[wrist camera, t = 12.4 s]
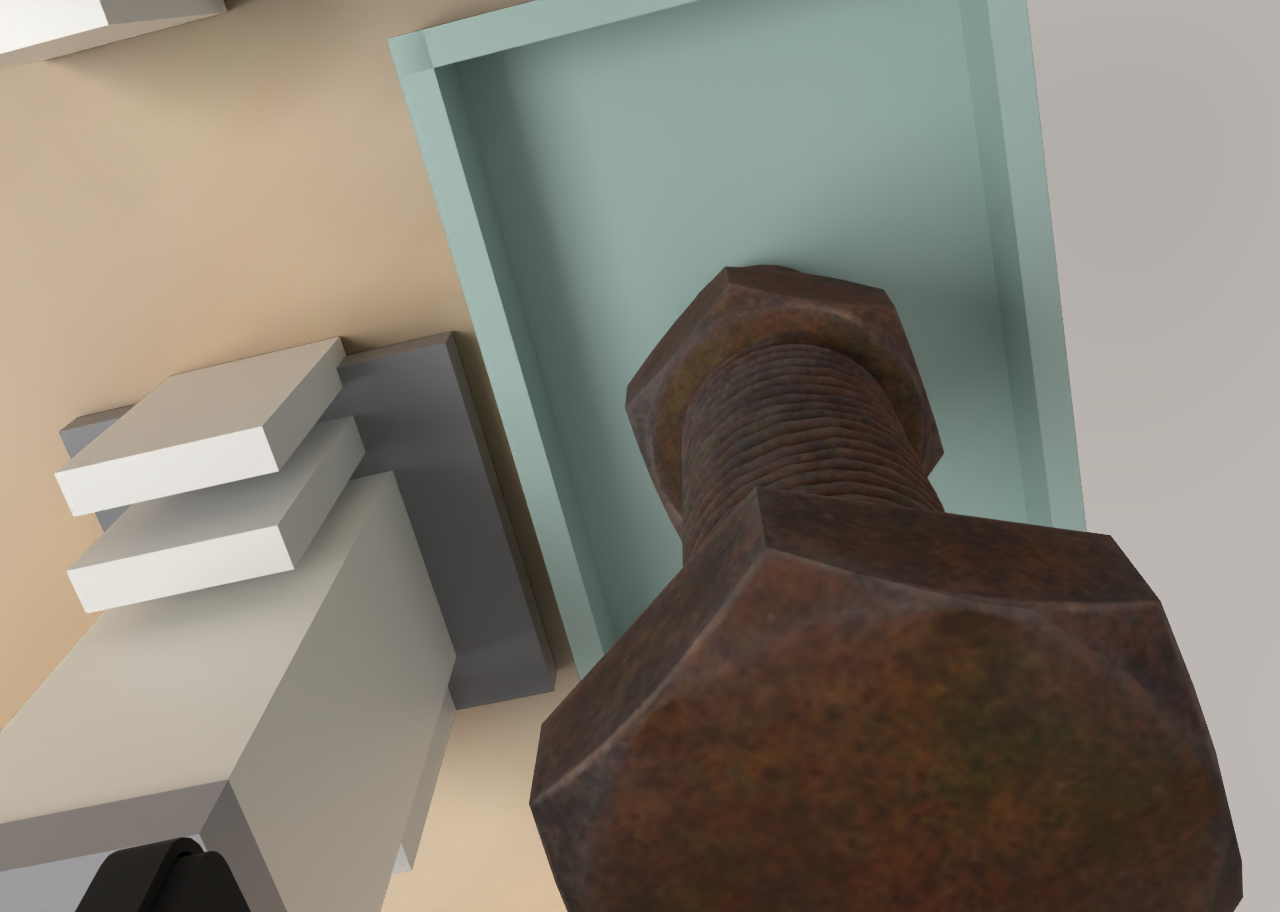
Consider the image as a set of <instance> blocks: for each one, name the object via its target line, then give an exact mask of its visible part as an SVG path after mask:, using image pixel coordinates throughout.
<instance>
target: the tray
mask: <svg viewBox="0 0 1280 912" xmlns="http://www.w3.org/2000/svg"><path fill="white" fill-rule="evenodd" d="M387 42H388V45H389V48H390V52H391V55H392V58H393V61H394V65H395V68H396V71H397V75H398V78H399V81H400V85H401V88H402V91H403V95H404V98H405V101H406V105H407V108H408V111H409V114H410V118H411V121H412V124H413V128H414V131H415V134H416V138H417V141H418V144H419V148H420V151H421V154H422V158H423V161H424V164H425V167H426V171H427V174H428V177H429V181H430V184H431V187H432V191H433V194H434V197H435V201H436V204H437V207H438V211H439V214H440V217H441V220H442V224H443V227H444V230H445V234H446V237H447V240H448V244H449V247H450V250H451V254H452V257H453V260H454V264H455V267H456V270H457V273H458V277H459V280H460V283H461V287H462V290H463V293H464V297H465V300H466V303H467V307H468V310H469V313H470V317H471V320H472V323H473V326H474V330H475V333H476V336H477V340H478V343H479V346H480V350H481V353H482V356H483V360H484V363H485V366H486V370H487V373H488V376H489V380H490V383H491V386H492V389H493V393H494V396H495V399H496V403H497V406H498V409H499V413H500V416H501V419H502V423H503V426H504V429H505V433H506V436H507V439H508V442H509V446H510V449H511V452H512V456H513V459H514V462H515V466H516V469H517V472H518V476H519V479H520V482H521V486H522V489H523V492H524V495H525V499H526V502H527V505H528V509H529V512H530V515H531V519H532V522H533V525H534V529H535V532H536V535H537V539H538V542H539V545H540V548H541V552H542V555H543V558H544V562H545V565H546V568H547V572H548V575H549V578H550V582H551V585H552V588H553V592H554V595H555V598H556V601H557V605H558V608H559V611H560V615H561V618H562V621H563V625H564V628H565V631H566V635H567V638H568V641H569V645H570V648H571V651H572V654H573V658H574V661H575V664H576V668H577V671H578V674H579V678H580V681H581V680H582V679H583V678H584V677H585V676H586V675H587V674H588V672H589V671H590V670H591V669H592V668H593V667H594V666H595V665H596V664H597V662H598V661H599V660H600V659H601V658H602V657H603V656H604V655H605V653H606V652H607V651H608V650H609V649H610V648H611V647H612V646H613V645H614V643H615V642H616V641H617V640H618V639H619V638H620V637H621V636H622V635H623V633H624V632H625V631H626V630H627V629H628V628H629V627H630V626H631V625H632V623H633V622H634V621H635V620H636V619H637V618H638V617H639V616H640V615H641V613H642V612H643V611H644V610H645V609H646V608H647V607H648V606H649V605H650V603H651V602H652V601H653V600H654V599H655V598H656V597H657V596H658V595H659V593H660V592H661V591H662V590H663V589H664V588H665V587H666V586H667V585H668V583H669V582H670V581H671V580H672V579H673V578H674V577H675V576H676V575H677V573H678V572H679V571H680V570H681V569H682V568H683V557H682V552H683V551H682V541H681V539H680V537H679V535H678V534H677V532H676V530H675V528H674V526H673V524H672V523H671V521H670V519H669V517H668V515H667V513H666V510H665V508H664V506H663V504H662V502H661V500H660V498H659V495H658V493H657V491H656V489H655V487H654V484H653V482H652V479H651V477H650V474H649V472H648V470H647V467H646V465H645V462H644V460H643V457H642V455H641V452H640V450H639V447H638V444H637V441H636V439H635V436H634V433H633V430H632V427H631V424H630V421H629V419H628V416H627V413H626V410H625V402H626V392H627V385H628V384H629V383H630V381H631V380H632V378H633V377H634V376H635V374H636V373H637V371H638V370H639V368H640V367H641V366H642V364H643V363H644V361H645V360H646V359H647V357H648V356H649V354H650V353H651V352H652V350H653V349H654V348H655V346H656V345H657V344H658V343H659V341H660V340H661V339H662V338H663V336H664V335H665V334H666V332H667V331H668V330H669V329H670V327H671V326H672V325H673V324H674V322H675V321H676V320H677V319H678V318H679V316H680V315H681V314H682V313H683V312H684V311H685V309H686V308H687V307H688V306H689V305H690V304H691V302H692V301H693V300H694V299H695V298H696V296H697V295H698V293H699V292H700V291H701V290H702V289H703V288H704V287H705V286H706V285H707V284H708V283H709V282H711V281H712V280H713V279H714V278H715V277H716V275H717V274H718V273H719V272H720V271H721V270H722V269H723V268H724V267H725V266H728V267H747V266H754V265H762V264H764V265H779V266H784V267H788V268H792V269H795V270H797V271H799V272H802V273H807V274H813V275H819V276H825V277H831V278H836V279H842V280H846V281H850V282H855V283H859V284H863V285H867V286H872V287H876V288H880V289H884V291H885V292H886V294H887V295H888V297H889V298H890V300H891V301H892V303H893V304H894V306H895V308H896V310H897V313H898V316H899V318H900V321H901V323H902V326H903V329H904V331H905V334H906V337H907V339H908V342H909V344H910V347H911V350H912V353H913V356H914V359H915V362H916V365H917V367H918V370H919V373H920V376H921V379H922V382H923V385H924V388H925V391H926V394H927V397H928V400H929V403H930V406H931V409H932V412H933V416H934V419H935V422H936V425H937V428H938V432H939V436H940V439H941V443H942V446H943V450H944V454H943V456H942V457H941V459H940V460H939V462H938V463H937V465H936V466H935V467H934V469H933V470H932V472H931V473H930V475H929V476H928V480H929V481H930V483H931V485H932V486H933V488H934V490H935V491H936V493H937V496H938V498H939V500H940V501H941V503H942V505H943V507H944V510H945V512H946V513H953V514H960V515H967V516H975V517H982V518H989V519H996V520H1003V521H1011V522H1018V523H1025V524H1032V525H1039V526H1047V527H1054V528H1061V529H1068V530H1075V531H1083V532H1086V522H1085V513H1084V505H1083V496H1082V487H1081V478H1080V470H1079V460H1078V451H1077V444H1076V443H1077V442H1076V433H1075V425H1074V416H1073V407H1072V398H1071V389H1070V381H1069V372H1068V363H1067V354H1066V345H1065V336H1064V327H1063V318H1062V310H1061V301H1060V292H1059V283H1058V275H1057V265H1056V257H1055V248H1054V239H1053V230H1052V222H1051V214H1050V204H1049V195H1048V186H1047V177H1046V168H1045V159H1044V150H1043V142H1042V133H1041V124H1040V115H1039V106H1038V97H1037V88H1036V80H1035V71H1034V62H1033V53H1032V45H1031V36H1030V27H1029V18H1028V9H1027V0H534V1H530V2H527V3H523V4H519V5H515V6H511V7H507V8H503V9H500V10H496V11H492V12H488V13H484V14H480V15H476V16H473V17H469V18H465V19H461V20H457V21H453V22H449V23H446V24H442V25H438V26H434V27H430V28H426V29H422V30H419V31H415V32H411V33H407V34H404V35H400V36H396V37H392V38H389V39H387Z"/></svg>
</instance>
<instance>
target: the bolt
mask: <svg viewBox="0 0 1280 912" xmlns="http://www.w3.org/2000/svg"><path fill="white" fill-rule="evenodd" d="M625 410H626V413H627V416H628V419H629V421H630V424H631V427H632V430H633V433H634V436H635V439H636V441H637V444H638V447H639V450H640V452H641V455H642V457H643V460H644V462H645V465H646V467H647V470H648V472H649V474H650V477H651V479H652V482H653V484H654V487H655V489H656V491H657V493H658V495H659V498H660V500H661V502H662V504H663V506H664V508H665V510H666V513H667V515H668V517H669V519H670V521H671V523H672V524H673V526H674V528H675V530H676V532H677V534H678V535H679V537H680V539H681V541H682V551H683V552H682V557H683V568H682V569H681V570H680V571H679V572H678V573H677V575H676V576H675V577H674V578H673V579H672V580H671V581H670V582H669V583H668V585H667V586H666V587H665V588H664V589H663V590H662V591H661V592H660V593H659V595H658V596H657V597H656V598H655V599H654V600H653V601H652V602H651V603H650V605H649V606H648V607H647V608H646V609H645V610H644V611H643V612H642V613H641V615H640V616H639V617H638V618H637V619H636V620H635V621H634V622H633V623H632V625H631V626H630V627H629V628H628V629H627V630H626V631H625V632H624V633H623V635H622V636H621V637H620V638H619V639H618V640H617V641H616V642H615V643H614V645H613V646H612V647H611V648H610V649H609V650H608V651H607V652H606V653H605V655H604V656H603V657H602V658H601V659H600V660H599V661H598V662H597V664H596V665H595V666H594V667H593V668H592V669H591V670H590V671H589V672H588V674H587V675H586V676H585V677H584V678H583V679H582V680H581V681H580V682H579V684H578V685H577V686H576V687H575V688H574V689H573V690H572V691H571V692H570V694H569V695H568V696H567V697H566V698H565V699H564V700H563V701H562V702H561V704H560V705H559V706H558V707H557V708H556V709H555V710H554V711H553V712H552V714H551V715H550V716H549V717H548V718H547V719H546V720H545V721H544V722H543V724H542V726H541V733H540V739H539V745H538V751H537V757H536V764H535V770H534V776H533V782H532V789H531V795H530V801H529V805H530V808H531V811H532V814H533V817H534V820H535V823H536V826H537V829H538V832H539V835H540V838H541V841H542V844H543V847H544V850H545V853H546V855H547V858H548V861H549V864H550V867H551V870H552V873H553V876H554V879H555V882H556V885H557V887H558V890H559V892H560V894H561V897H562V899H563V902H564V904H565V906H566V909H567V911H568V912H1234V910H1235V909H1236V907H1237V906H1238V904H1239V902H1240V901H1241V899H1242V898H1243V887H1242V860H1241V856H1240V852H1239V848H1238V843H1237V839H1236V835H1235V831H1234V827H1233V823H1232V819H1231V814H1230V810H1229V806H1228V802H1227V797H1226V794H1225V789H1224V785H1223V781H1222V777H1221V772H1220V768H1219V764H1218V760H1217V756H1216V751H1215V748H1214V745H1213V743H1212V739H1211V737H1210V734H1209V730H1208V727H1207V724H1206V721H1205V719H1204V715H1203V713H1202V710H1201V706H1200V704H1199V701H1198V698H1197V695H1196V692H1195V689H1194V686H1193V683H1192V681H1191V678H1190V675H1189V673H1188V670H1187V668H1186V665H1185V663H1184V660H1183V658H1182V655H1181V652H1180V650H1179V647H1178V645H1177V642H1176V640H1175V637H1174V635H1173V632H1172V630H1171V627H1170V624H1169V622H1168V619H1167V617H1166V614H1165V612H1164V609H1163V606H1162V604H1161V601H1160V600H1159V599H1158V597H1157V596H1156V595H1155V593H1154V592H1153V591H1152V589H1151V588H1150V587H1149V585H1148V584H1147V583H1146V581H1145V580H1144V579H1143V577H1142V576H1141V575H1140V574H1139V572H1138V571H1137V570H1136V568H1135V567H1134V566H1133V564H1132V563H1131V562H1130V561H1129V559H1128V558H1127V556H1126V555H1125V554H1124V552H1123V551H1122V550H1121V549H1120V547H1119V546H1118V545H1117V543H1116V542H1115V541H1114V539H1113V538H1112V537H1111V536H1110V535H1104V534H1097V533H1090V532H1083V531H1075V530H1068V529H1061V528H1054V527H1047V526H1039V525H1032V524H1025V523H1018V522H1011V521H1003V520H996V519H989V518H982V517H975V516H967V515H960V514H953V513H946V512H945V510H944V507H943V505H942V503H941V501H940V500H939V498H938V496H937V493H936V491H935V490H934V488H933V486H932V485H931V483H930V481H929V480H928V476H929V475H930V473H931V472H932V470H933V469H934V467H935V466H936V465H937V463H938V462H939V460H940V459H941V457H942V456H943V454H944V450H943V446H942V443H941V439H940V436H939V432H938V428H937V425H936V422H935V419H934V416H933V412H932V409H931V406H930V403H929V400H928V397H927V394H926V391H925V388H924V385H923V382H922V379H921V376H920V373H919V370H918V367H917V365H916V362H915V359H914V356H913V353H912V350H911V347H910V344H909V342H908V339H907V337H906V334H905V331H904V329H903V326H902V323H901V321H900V318H899V316H898V313H897V310H896V308H895V306H894V304H893V303H892V301H891V300H890V298H889V297H888V295H887V294H886V292H885V291H884V289H880V288H876V287H872V286H867V285H863V284H859V283H855V282H850V281H846V280H842V279H836V278H831V277H825V276H819V275H813V274H807V273H802V272H799V271H797V270H795V269H792V268H788V267H784V266H779V265H764V264H762V265H754V266H747V267H728V266H725V267H724V268H723V269H722V270H721V271H720V272H719V273H718V274H717V275H716V277H715V278H714V279H713V280H712V281H711V282H709V283H708V284H707V285H706V286H705V287H704V288H703V289H702V290H701V291H700V292H699V293H698V295H697V296H696V298H695V299H694V300H693V301H692V302H691V304H690V305H689V306H688V307H687V308H686V309H685V311H684V312H683V313H682V314H681V315H680V316H679V318H678V319H677V320H676V321H675V322H674V324H673V325H672V326H671V327H670V329H669V330H668V331H667V332H666V334H665V335H664V336H663V338H662V339H661V340H660V341H659V343H658V344H657V345H656V346H655V348H654V349H653V350H652V352H651V353H650V354H649V356H648V357H647V359H646V360H645V361H644V363H643V364H642V366H641V367H640V368H639V370H638V371H637V373H636V374H635V376H634V377H633V378H632V380H631V381H630V383H629V384H628V385H627V392H626V402H625Z"/></svg>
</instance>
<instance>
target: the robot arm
mask: <svg viewBox="0 0 1280 912" xmlns="http://www.w3.org/2000/svg"><path fill="white" fill-rule="evenodd" d="M75 912H251V911H250V909H249V906H248V904H247V902H246V900H245V898H244V896H243V894H242V892H241V890H240V888H239V886H238V884H237V882H236V880H235V878H234V876H233V874H232V871H231V869H230V867H229V865H228V863H227V862H226V860H225V859H224V857H223V856H222V855H221V854H219V853H218V852H217V851H207V852H204V850H203V849H202V847H201V846H200V844H199V843H197V842H196V841H195V840H193V839H192V838H187V837H180V838H175V839H170V840H165V841H161V842H156V843H151V844H146V845H141V846H136V847H131V848H127V849H122V850H117V851H116V852H114V853H112V854H110V855H108V857H107V858H106V859H105V860H104V862H103V863H102V864H101V866H100V867H99V869H98V871H97V873H96V875H95V876H94V878H93V880H92V882H91V884H90V885H89V887H88V889H87V891H86V893H85V894H84V896H83V898H82V900H81V901H80V903H79V905H78V907H77V909H76V910H75Z"/></svg>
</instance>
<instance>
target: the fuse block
mask: <svg viewBox="0 0 1280 912" xmlns="http://www.w3.org/2000/svg"><path fill="white" fill-rule="evenodd" d="M225 12H227V9H226V6H225V3H224V0H0V68H1V67H7V66H14V65H20V64H27V63H33V62H40V61H44V60H48V59H52V58H56V57H60V56H63V55H67V54H71V53H75V52H78V51H82V50H86V49H90V48H93V47H97V46H101V45H105V44H109V43H112V42H116V41H120V40H124V39H127V38H131V37H135V36H139V35H142V34H146V33H150V32H154V31H158V30H161V29H165V28H169V27H173V26H176V25H180V24H184V23H188V22H191V21H195V20H199V19H203V18H207V17H210V16H214V15H218V14H222V13H225ZM59 433H60V435H61V438H62V440H63V442H64V444H65V446H66V449H67V451H68V453H69V455H70V458H71V459H70V460H69V461H68V462H67V463H66V464H64V465H63V466H62V467H61V468H60V469H58V470H57V471H56V472H55V473H54V475H55V477H56V479H57V481H58V484H59V486H60V488H61V490H62V492H63V495H64V497H65V499H66V501H67V503H68V505H69V508H70V510H71V512H72V514H73V516H74V517H75V516H80V515H84V514H89V513H93V512H95V513H96V515H97V518H98V520H99V522H100V524H101V526H102V529H103V531H104V533H103V534H102V535H101V536H100V537H99V538H98V539H97V540H96V541H95V542H94V543H93V544H92V545H91V546H90V547H89V548H88V549H87V550H86V551H85V552H84V553H83V555H82V556H81V557H80V558H79V559H78V560H77V561H76V562H75V563H74V564H73V565H72V566H71V567H70V568H69V569H68V570H67V574H68V576H69V578H70V580H71V582H72V584H73V586H74V589H75V591H76V593H77V595H78V597H79V599H80V601H81V603H82V606H83V608H84V610H85V612H86V614H87V613H91V612H96V611H101V610H105V609H106V610H105V611H104V612H103V614H102V615H101V616H100V617H99V618H98V619H97V620H96V622H95V623H94V624H93V625H92V626H91V627H90V629H89V630H88V631H87V632H86V633H85V634H84V636H83V637H82V638H81V639H80V640H79V641H78V642H77V644H76V645H75V646H74V647H73V648H72V649H71V651H70V652H69V653H68V654H67V655H66V656H65V658H64V659H63V660H62V661H61V662H60V663H59V664H58V666H57V667H56V668H55V669H54V670H53V671H52V673H51V674H50V675H49V676H48V677H47V678H46V680H45V681H44V682H43V683H42V684H41V685H40V687H39V688H38V689H37V690H36V691H35V692H34V693H33V695H32V696H31V697H30V698H29V699H28V700H27V702H26V703H25V704H24V705H23V706H22V707H21V709H20V710H19V711H18V712H17V713H16V714H15V715H14V717H13V718H12V719H11V720H10V721H9V722H8V724H7V725H6V726H5V727H4V728H3V729H2V731H1V732H0V912H75V910H76V909H77V907H78V905H79V903H80V901H81V900H82V898H83V896H84V894H85V893H86V891H87V889H88V887H89V885H90V884H91V882H92V880H93V878H94V876H95V875H96V873H97V871H98V869H99V867H100V866H101V864H102V863H103V862H104V860H105V859H106V858H107V857H108V855H110V854H112V853H114V852H116V851H117V850H122V849H127V848H131V847H136V846H141V845H146V844H151V843H156V842H161V841H165V840H170V839H175V838H180V837H187V838H192V839H193V840H195V841H196V842H197V843H199V844H200V846H201V847H202V849H203V850H204V852H207V851H217V852H218V853H219V854H221V855H222V856H223V857H224V859H225V860H226V862H227V863H228V865H229V867H230V869H231V871H232V874H233V876H234V878H235V880H236V882H237V884H238V886H239V888H240V890H241V892H242V894H243V896H244V898H245V900H246V902H247V904H248V906H249V909H250V911H251V912H380V911H381V908H382V904H383V901H384V898H385V894H386V891H387V888H388V884H389V881H390V878H391V874H396V873H402V872H407V871H412V868H413V864H414V861H415V857H416V853H417V850H418V846H419V843H420V839H421V835H422V832H423V828H424V825H425V821H426V817H427V814H428V810H429V807H430V803H431V799H432V796H433V792H434V789H435V785H436V781H437V778H438V774H439V770H440V767H441V763H442V760H443V756H444V752H445V749H446V745H447V742H448V738H449V734H450V731H451V727H452V724H453V720H454V716H455V713H456V710H460V709H465V708H470V707H475V706H480V705H486V704H491V703H496V702H501V701H506V700H511V699H516V698H521V697H526V696H531V695H536V694H541V693H547V692H552V691H554V688H555V681H556V674H557V669H556V666H555V663H554V659H553V656H552V653H551V650H550V646H549V643H548V640H547V637H546V634H545V630H544V627H543V624H542V621H541V617H540V614H539V611H538V608H537V604H536V601H535V598H534V595H533V591H532V588H531V585H530V582H529V579H528V575H527V572H526V569H525V566H524V562H523V559H522V556H521V553H520V549H519V546H518V543H517V540H516V537H515V533H514V530H513V527H512V524H511V520H510V517H509V514H508V511H507V507H506V504H505V501H504V498H503V494H502V491H501V488H500V485H499V482H498V478H497V475H496V472H495V469H494V465H493V462H492V459H491V456H490V452H489V449H488V446H487V443H486V439H485V436H484V433H483V430H482V427H481V423H480V420H479V417H478V414H477V410H476V407H475V404H474V401H473V397H472V394H471V391H470V388H469V385H468V381H467V378H466V375H465V372H464V368H463V365H462V362H461V359H460V355H459V352H458V349H457V346H456V342H455V339H454V336H453V333H452V331H450V332H446V333H441V334H437V335H433V336H428V337H424V338H420V339H415V340H411V341H407V342H402V343H398V344H394V345H389V346H385V347H381V348H376V349H372V350H368V351H363V352H359V353H355V354H350V355H346V353H345V350H344V347H343V345H342V342H341V339H340V337H336V338H332V339H327V340H323V341H319V342H314V343H310V344H306V345H302V346H297V347H293V348H289V349H284V350H280V351H276V352H271V353H267V354H263V355H259V356H254V357H250V358H246V359H241V360H237V361H233V362H229V363H224V364H220V365H216V366H211V367H207V368H203V369H199V370H194V371H190V372H186V373H181V374H177V375H173V376H170V377H169V378H167V379H166V380H165V381H164V382H163V383H161V384H160V385H159V386H158V387H157V388H155V389H154V390H153V391H152V392H151V393H149V394H148V395H147V396H146V397H145V398H143V399H142V400H141V401H140V402H139V403H137V404H134V405H130V406H125V407H121V408H117V409H112V410H108V411H104V412H99V413H95V414H91V415H86V416H82V417H78V418H76V419H75V420H73V421H72V422H71V423H70V424H68V425H67V426H66V427H64V428H63V429H62V430H61V431H59Z"/></svg>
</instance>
